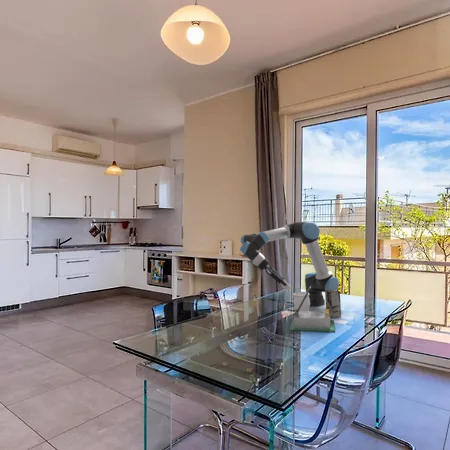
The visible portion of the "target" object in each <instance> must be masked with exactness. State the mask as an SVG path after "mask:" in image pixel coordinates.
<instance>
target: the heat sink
mask: <svg viewBox="0 0 450 450" xmlns="http://www.w3.org/2000/svg"><path fill="white" fill-rule="evenodd" d="M296 311H297V309H296ZM330 318H331V316H330V314H329V309H326V308H325V309H324V311H318V310H316V311H314V310H313V311H312V310H309V311H299V312H294V316H293V318H292V321H291V324H290V328H289V331H290V332H310V333H311V332H313V333H317V332H318V333H336V326H335V319H330Z"/></svg>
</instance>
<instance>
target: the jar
mask: <svg viewBox="0 0 450 450" xmlns="http://www.w3.org/2000/svg"><path fill="white" fill-rule="evenodd" d="M306 293H307V292H306V291H297V292H296V291H295V292H293V293H292V295H293V300H292V301H293V307H294V311H295V312H296V309H298V307H299V306H300V304H301V302H302V300H303V298H304V296H305V294H306ZM310 307H311V306H310V299H309V293H308V295H307V297H306V299H305V300H304V302H303V304H302V306H301V308H300V310H299V311H310ZM295 312H294V313H295Z"/></svg>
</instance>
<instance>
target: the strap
mask: <svg viewBox="0 0 450 450" xmlns="http://www.w3.org/2000/svg"><path fill="white" fill-rule="evenodd" d="M310 289H311V286H310V287H309V289H308V291H307V293H306V294H305V296H304V298H303V300H302V302H301V304H300V306H299V307H298V309H297V311H296V312H299V310H300V308H301V306H302V304H303V302H304V300H305V299H306V297H307V295H308V293H309V291H310Z"/></svg>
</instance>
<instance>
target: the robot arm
mask: <svg viewBox="0 0 450 450" xmlns="http://www.w3.org/2000/svg"><path fill="white" fill-rule="evenodd" d="M320 232H321V231H320V227H319V225H318V224H317V223H315V222H313V221H299V222H298V221H297V222H292V223H290V224H285V225H282V227H278V228H273V229H269V230H265V231H260V232H255V233H251V234H244V235H242V236H241V238H240V243H241V247H240V248H239V251H240V252H241V253H242V254H243V255H244V256H245V257H246V258H247V259H248V260H250V261H251V263H252V264H253V265H255V266H257V268H258V269H259V270H260V271H263V270H265V272H266V274H267V275H268V276H270V277H271V278H272V279H274V280H275V281H276V282H277V283H278V284H280V285H282V286H283V287H284V288H285V289H286V290H287V291H288V292H289V291H290V290H291V289H292V286H291V285H290V284H289V283H288V282H287V281H286V280H285V278H284V277H283V276H282V275H281V274H280V273H279V272H278V271H277V270H276V269H275V268H274V267H273V266H271V265H269V264H270V263H271V261H270V260H269V259H267V258H266V257H265V255H264V254H262V253H261V252H260V250H261V249H262V248H263V247H264V246H265V245H266V244H267V243H268V242H274V241H278V240H283V239H285V240H288V239H298V240H300V242H301V243H302V244H303V245H305V248H306V250H307V252H308V255H309V257H310V260H311V263H312V266H313V269H314V270H315V272H308V273H307V272H306V274H305V275H304V284H305V292H307V291H308V289H309V287H310V286H311V289H310V291H309V299H310V307H318V306H319V307H320V306H325V305H326V300H325V296H324V295H323V293H325V290H330V289H334V290H337V291H338V287H339V284H340V283H339V279H338V278H337V277H336V276H334V275H333V273H332V271H331V270H329V268H328V265H327V263H326V260H325V257H324V255H323V252H322V250H321V247H320V244H319V239H320V237H319V236H320Z"/></svg>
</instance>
